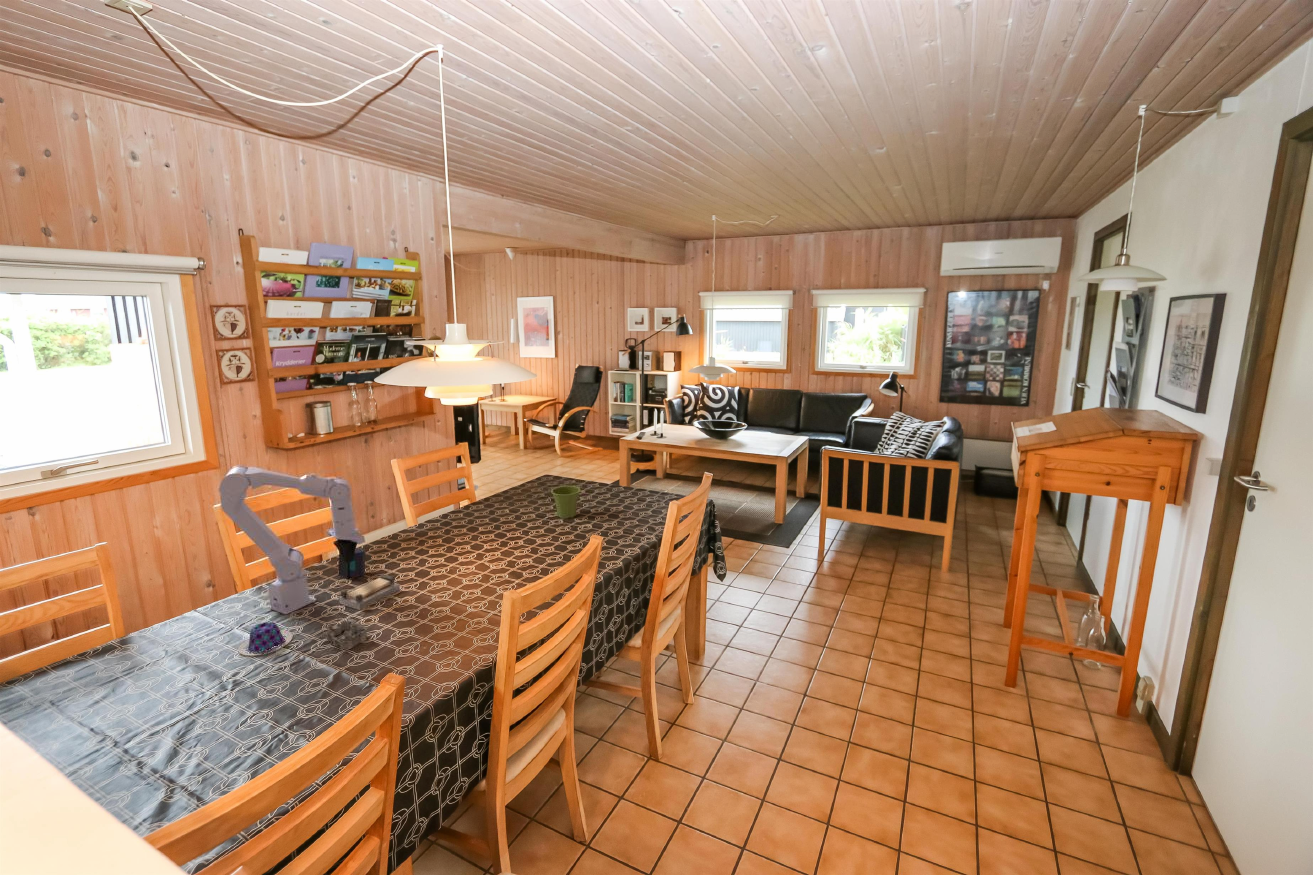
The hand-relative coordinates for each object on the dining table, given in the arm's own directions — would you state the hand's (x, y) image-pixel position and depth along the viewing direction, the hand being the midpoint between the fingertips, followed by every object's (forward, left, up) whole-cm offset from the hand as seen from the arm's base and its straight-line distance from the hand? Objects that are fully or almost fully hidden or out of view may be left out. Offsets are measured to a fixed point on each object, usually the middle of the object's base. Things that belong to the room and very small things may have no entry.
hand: (349, 561), depth 184 cm
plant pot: (+86, -19, -11) cm, 88 cm away
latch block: (+1, -7, -10) cm, 12 cm away
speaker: (+9, +11, -11) cm, 18 cm away
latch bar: (+1, -7, -8) cm, 11 cm away
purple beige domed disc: (-29, -5, -11) cm, 31 cm away
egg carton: (-18, -22, -11) cm, 30 cm away
